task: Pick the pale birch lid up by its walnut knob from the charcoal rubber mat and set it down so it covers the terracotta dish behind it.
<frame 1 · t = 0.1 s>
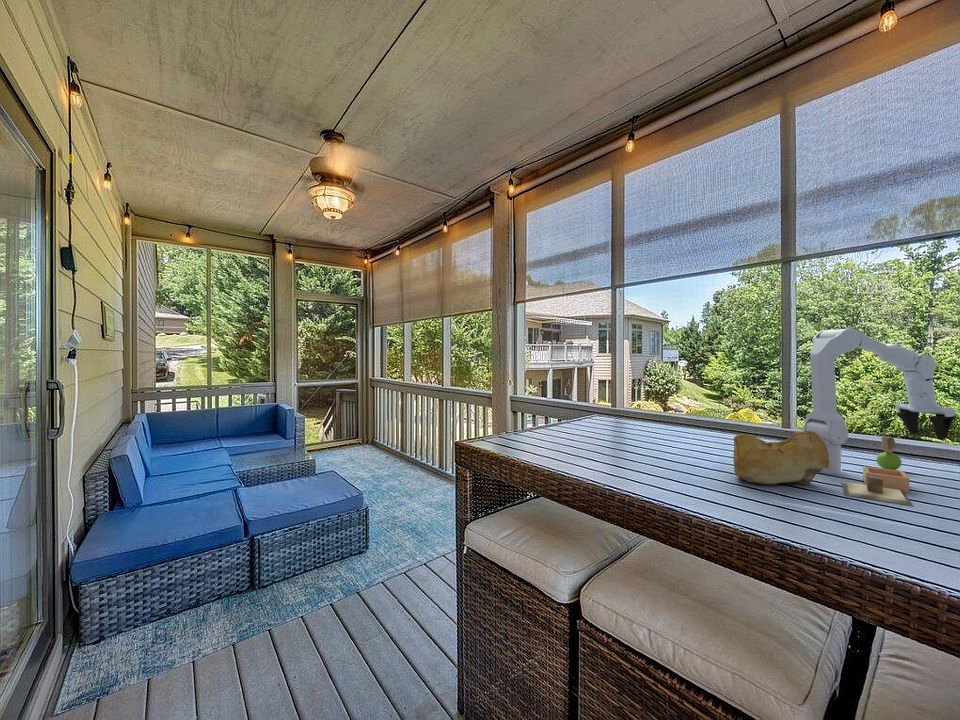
hand: (927, 435, 121), 11 cm above the table, tool pointing down, fingers open, 7 cm apart
mat: (874, 495, 100), on the table
dish: (884, 486, 107), on the table
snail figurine: (888, 470, 122), on the table
lid: (874, 494, 100), resting on mat
rough brown rock: (772, 479, 114), on the table
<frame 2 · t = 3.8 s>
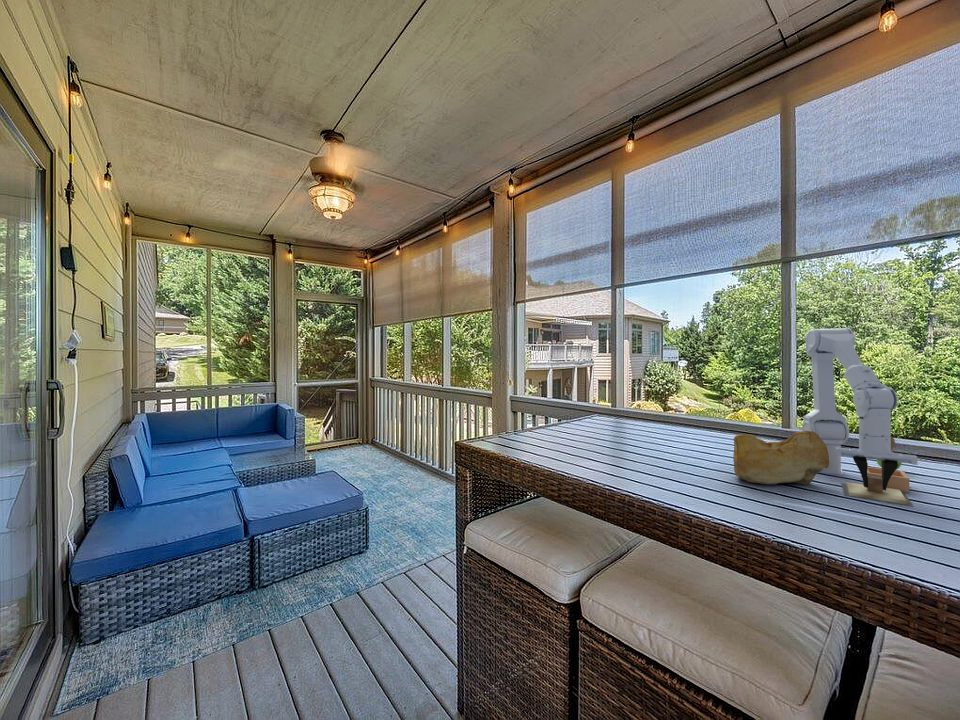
hand: (874, 487, 100), 2 cm above the table, tool pointing down, fingers closed on lid, 3 cm apart
lid: (874, 494, 100), resting on mat, touching gripper
everything else where it was.
when the fingers open (7 cm above the table, at t = 6.4 s): lid stays where it is, resting on dish.
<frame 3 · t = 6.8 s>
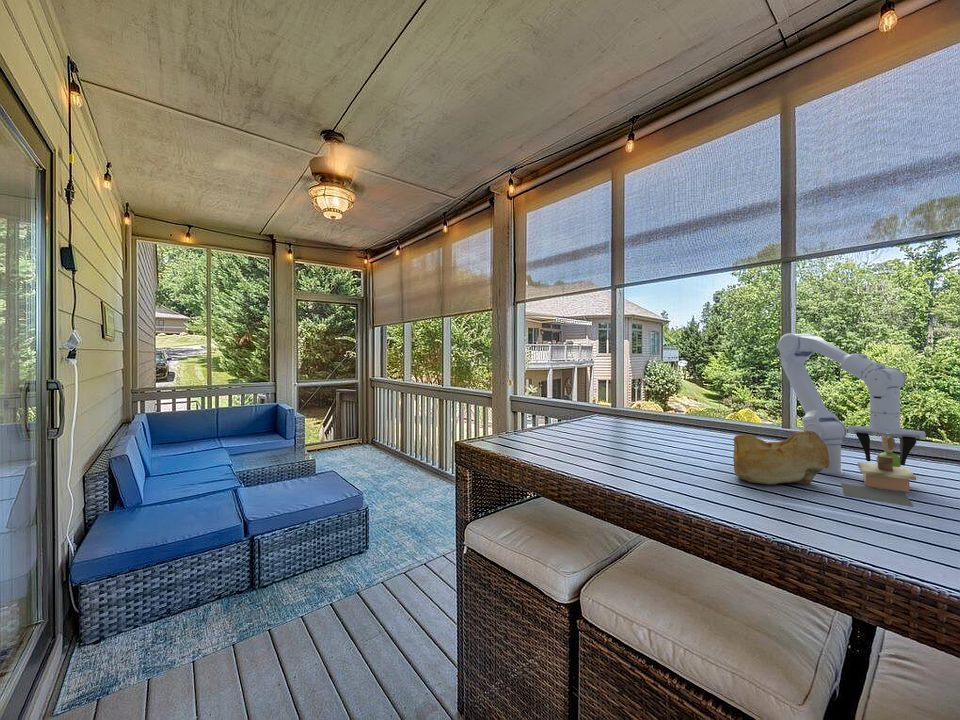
hand: (884, 462, 107), 7 cm above the table, tool pointing down, fingers open, 6 cm apart
lid: (885, 472, 106), point 4 cm above the table, touching dish
everything else where it was.
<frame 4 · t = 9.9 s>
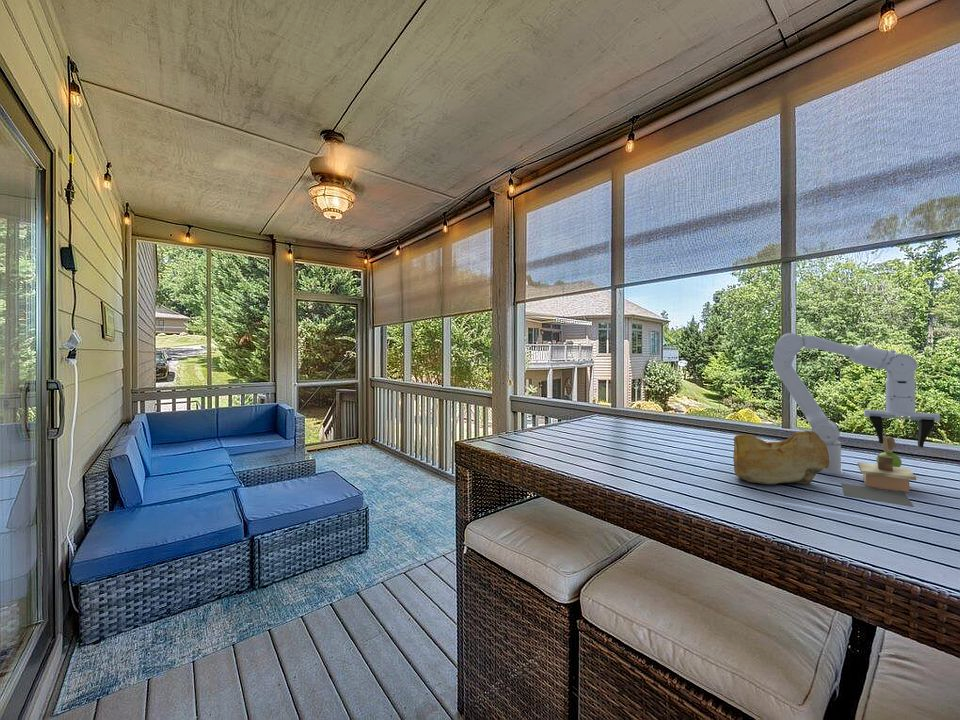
hand: (900, 444, 111), 10 cm above the table, tool pointing down, fingers open, 7 cm apart
nothing on the table moved.
at the end: lid 0.3 cm off-centre on the dish, point 4.0 cm above the dish's base; lid tilted 0°; the gripper is holding nothing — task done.
